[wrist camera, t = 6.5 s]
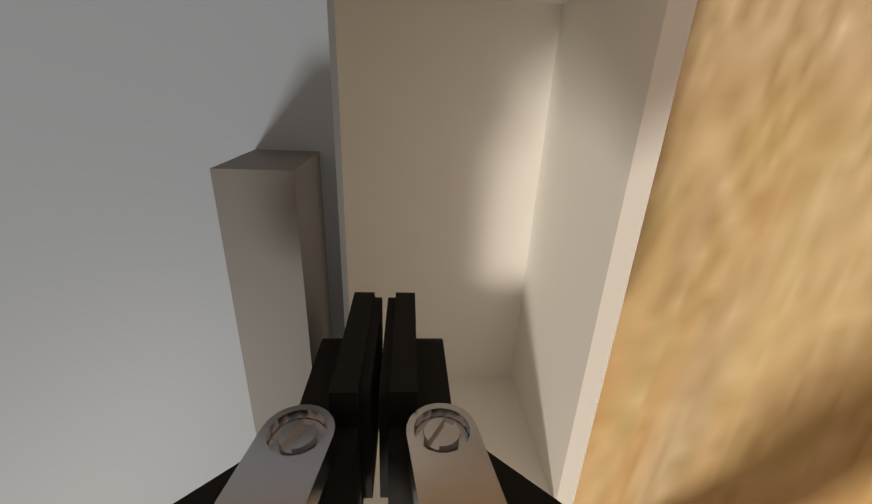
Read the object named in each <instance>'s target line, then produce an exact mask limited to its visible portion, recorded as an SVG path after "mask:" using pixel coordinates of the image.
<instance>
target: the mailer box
mask: <svg viewBox="0 0 872 504" xmlns="http://www.w3.org/2000/svg"><path fill="white" fill-rule="evenodd" d="M697 3H698V0H334V11H335V31H336V51H337V72H338V92H339V112H340V133H341V153H342V173H343V194H344V214H345V234H346V255H347V275H348V295H349V312H350V308H351V304H352V300H353V297H354V293H355V292H375V297H382V311H383V344H384V334H385V324H386V313H387V303H388V297H396V292H405V293H415V310H416V338H442V339H443V344H444V352H445V359H446V367H447V375H448V382H449V390H450V397H451V404H452V405H456V406H458V407H460V408H462V409H464V410H465V411H466V412H467V413H468V414H470V415H471V416H472V418H473V419H474V421H475V423H476V425H477V427H478V430H479V432H480V435H481V437H482V440H483V442H484V445H485V448H486V450H487V451H488V452H490V453H491V454H493V455H494V456H495V457H497V458H498V459H500V460H501V461H502V462H504V463H505V464H507V465H508V466H510V467H511V468H512V469H514V470H515V471H517V472H518V473H520V474H521V475H522V476H524V477H525V478H527V479H528V480H529V481H531V482H532V483H534V484H535V485H537V486H538V487H539V488H541V489H542V490H544V491H545V492H547V493H548V494H549V495H551V496H552V497H554V498H555V499H556V500H558V501H559V502H561V503H562V504H573V502H574V498H575V494H576V490H577V486H578V482H579V478H580V474H581V470H582V466H583V462H584V458H585V454H586V450H587V446H588V442H589V438H590V434H591V430H592V426H593V422H594V418H595V413H596V409H597V405H598V401H599V397H600V393H601V389H602V385H603V381H604V377H605V373H606V369H607V365H608V361H609V357H610V353H611V349H612V345H613V341H614V337H615V333H616V329H617V325H618V321H619V317H620V313H621V309H622V305H623V301H624V297H625V293H626V289H627V285H628V281H629V277H630V272H631V268H632V264H633V260H634V256H635V252H636V248H637V244H638V240H639V236H640V232H641V228H642V224H643V220H644V216H645V212H646V208H647V204H648V200H649V196H650V192H651V188H652V184H653V180H654V176H655V172H656V168H657V164H658V160H659V156H660V152H661V148H662V144H663V140H664V135H665V131H666V127H667V123H668V119H669V115H670V111H671V107H672V103H673V99H674V95H675V91H676V87H677V83H678V79H679V75H680V71H681V67H682V63H683V59H684V55H685V51H686V47H687V43H688V39H689V35H690V31H691V27H692V23H693V19H694V15H695V11H696V7H697ZM363 504H388V498H380V458H379V434H378V445H377V457H376V468H375V479H374V491H373V498H364V502H363Z"/></svg>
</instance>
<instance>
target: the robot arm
mask: <svg viewBox="0 0 872 504" xmlns="http://www.w3.org/2000/svg"><path fill="white" fill-rule="evenodd" d="M378 434H379V458H380V498H388V504H562V503H561V502H559V501H558V500H556V499H555V498H554V497H552V496H551V495H549V494H548V493H547V492H545V491H544V490H542V489H541V488H539V487H538V486H537V485H535V484H534V483H532V482H531V481H529V480H528V479H527V478H525V477H524V476H522V475H521V474H520V473H518V472H517V471H515V470H514V469H512V468H511V467H510V466H508V465H507V464H505V463H504V462H502V461H501V460H500V459H498V458H497V457H495V456H494V455H493V454H491V453H490V452H488V451H487V450H486V448H485V445H484V442H483V440H482V437H481V435H480V432H479V430H478V427H477V425H476V423H475V421H474V419H473V418H472V416H471V415H470V414H468V413H467V412H466V411H465V410H464V409H462V408H460V407H458V406H456V405H452V404H451V397H450V390H449V382H448V375H447V367H446V359H445V352H444V344H443V339H442V338H416V310H415V293H405V292H396V297H388V303H387V313H386V324H385V334H384V344H383V311H382V297H375V292H355V293H354V297H353V300H352V304H351V308H350V312H349V316H348V319H347V323H346V327H345V331H344V335H343V338H324V339H322V341H321V343H320V346H319V349H318V352H317V355H316V358H315V361H314V364H313V367H312V370H311V373H310V375H309V378H308V381H307V384H306V387H305V390H304V393H303V396H302V399H301V402H300V405H296V406H292V407H288V408H286V409H284V410H282V411H279V412H278V413H276V414H275V415H273V416H272V417H271V418H269V419H268V420H267V422H266V423H265V424H264V425H263V426H262V428H261V429H260V431H259V432H258V434H257V436H256V437H255V439H254V440H253V442H252V444H251V445H250V447H249V448H248V450H247V452H246V453H245V455H244V456H243V458H242V460H241V461H240V462H239V463H237V464H236V465H234V466H233V467H231V468H229V469H228V470H226V471H225V472H223V473H221V474H220V475H218V476H217V477H215V478H213V479H212V480H210V481H209V482H207V483H205V484H204V485H202V486H201V487H199V488H197V489H196V490H194V491H193V492H191V493H189V494H188V495H186V496H185V497H183V498H181V499H180V500H178V501H177V502H175V503H173V504H363V502H364V498H373V491H374V479H375V468H376V457H377V445H378Z"/></svg>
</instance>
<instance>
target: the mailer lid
mask: <svg viewBox="0 0 872 504" xmlns="http://www.w3.org/2000/svg"><path fill="white" fill-rule="evenodd" d="M348 316H349V295H348V275H347V255H346V234H345V214H344V194H343V173H342V153H341V133H340V112H339V92H338V72H337V51H336V31H335V11H334V0H0V504H173V503H175V502H177V501H178V500H180V499H181V498H183V497H185V496H186V495H188V494H189V493H191V492H193V491H194V490H196V489H197V488H199V487H201V486H202V485H204V484H205V483H207V482H209V481H210V480H212V479H213V478H215V477H217V476H218V475H220V474H221V473H223V472H225V471H226V470H228V469H229V468H231V467H233V466H234V465H236V464H237V463H239V462H240V461H241V460H242V458H243V456H244V455H245V453H246V452H247V450H248V448H249V447H250V445H251V444H252V442H253V440H254V439H255V437H256V436H257V434H258V432H259V431H260V429H261V428H262V426H263V425H264V424H265V423H266V422H267V420H268V419H269V418H271V417H272V416H273V415H275V414H276V413H278V412H279V411H282V410H284V409H286V408H288V407H292V406H296V405H300V402H301V399H302V396H303V393H304V390H305V387H306V384H307V381H308V378H309V375H310V373H311V370H312V367H313V364H314V361H315V358H316V355H317V352H318V349H319V346H320V343H321V341H322V339H324V338H343V335H344V331H345V327H346V323H347V319H348Z"/></svg>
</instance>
